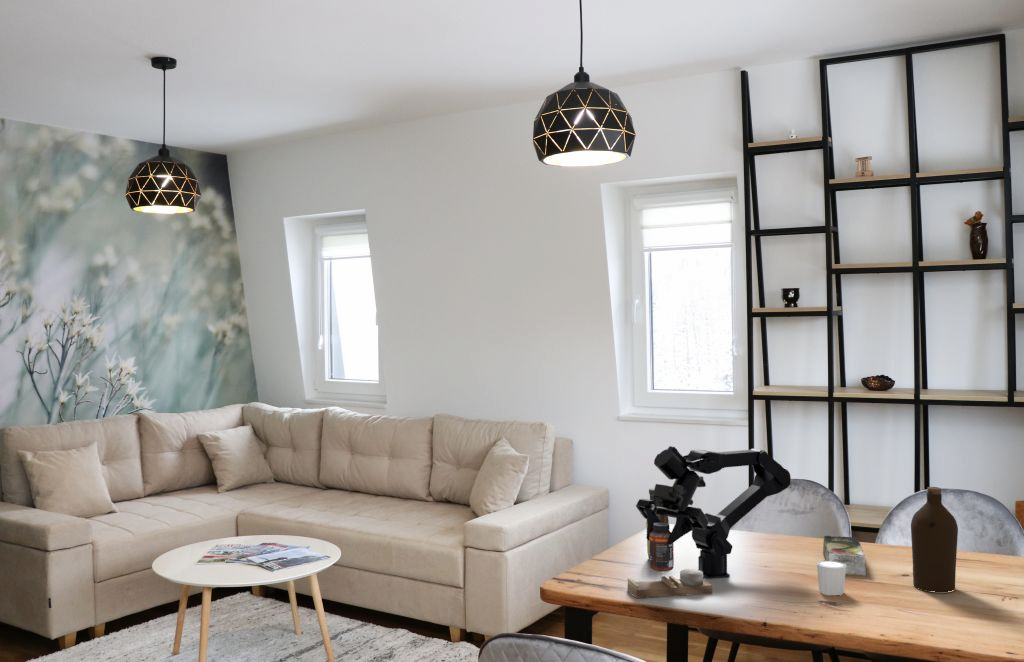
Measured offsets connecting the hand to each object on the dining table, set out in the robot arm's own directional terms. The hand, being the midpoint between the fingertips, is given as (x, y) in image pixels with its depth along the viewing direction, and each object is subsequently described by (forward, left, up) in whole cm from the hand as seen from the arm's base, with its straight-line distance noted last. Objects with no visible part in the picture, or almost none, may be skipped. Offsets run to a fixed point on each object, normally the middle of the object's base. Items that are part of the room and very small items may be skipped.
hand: (658, 541), depth 219 cm
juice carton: (-58, -11, -13) cm, 60 cm away
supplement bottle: (-1, -1, -7) cm, 7 cm away
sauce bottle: (-10, -26, -12) cm, 31 cm away
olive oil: (-68, +13, -12) cm, 70 cm away
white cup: (-41, +11, -12) cm, 44 cm away
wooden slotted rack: (-2, +2, -12) cm, 12 cm away
